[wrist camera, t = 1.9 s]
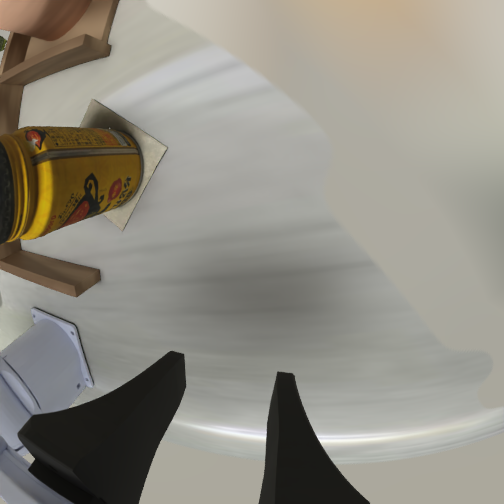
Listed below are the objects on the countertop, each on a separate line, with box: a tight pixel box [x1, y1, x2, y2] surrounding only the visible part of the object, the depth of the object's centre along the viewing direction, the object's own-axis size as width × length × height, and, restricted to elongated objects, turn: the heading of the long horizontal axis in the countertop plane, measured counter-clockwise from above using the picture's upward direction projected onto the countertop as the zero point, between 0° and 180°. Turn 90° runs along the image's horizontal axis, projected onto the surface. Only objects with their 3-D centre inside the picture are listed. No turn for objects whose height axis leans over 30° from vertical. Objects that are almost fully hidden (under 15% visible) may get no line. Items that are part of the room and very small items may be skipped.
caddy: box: [0, 0, 119, 297], centre depth 12 cm, size 33×14×10 cm, turn 174°
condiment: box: [0, 99, 167, 245], centre depth 13 cm, size 7×8×12 cm
